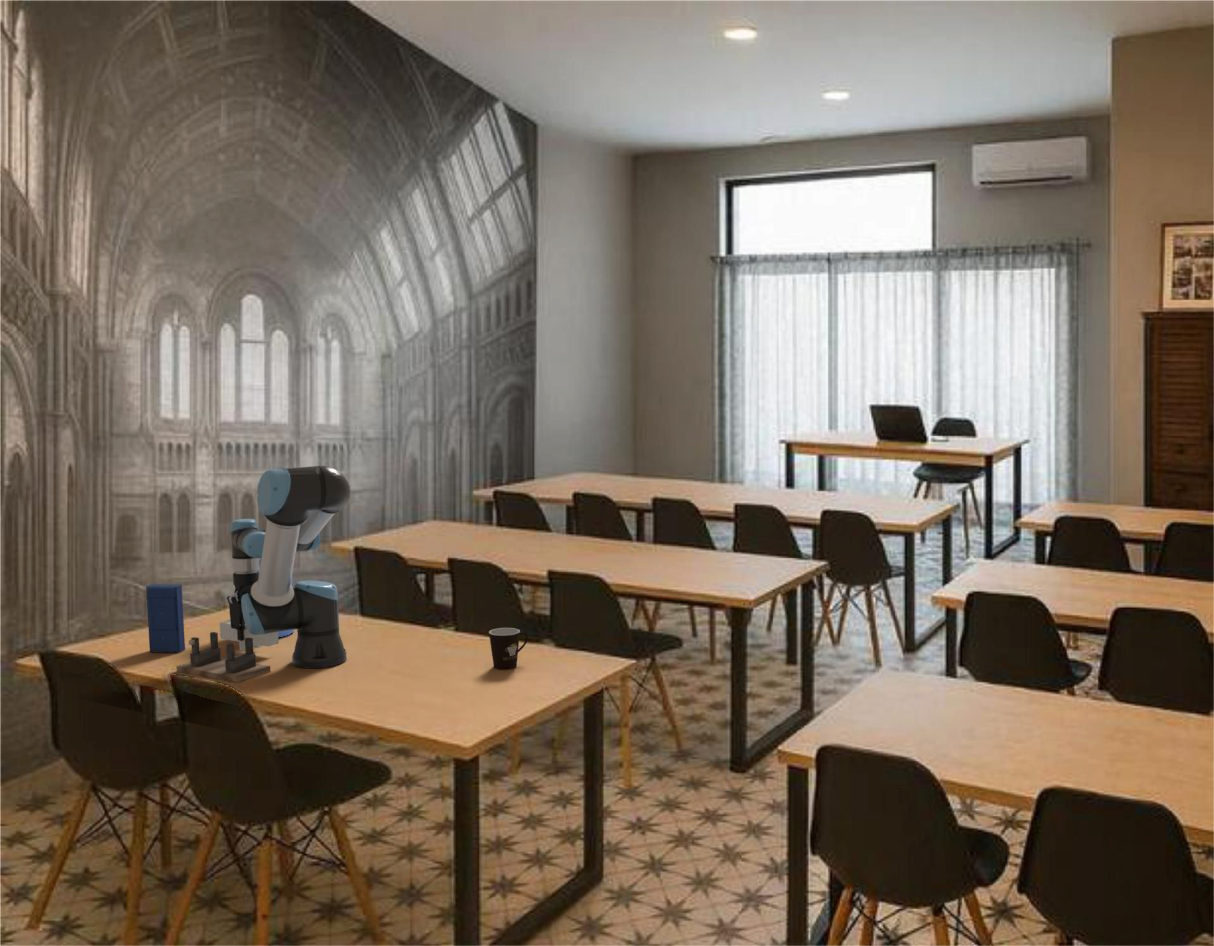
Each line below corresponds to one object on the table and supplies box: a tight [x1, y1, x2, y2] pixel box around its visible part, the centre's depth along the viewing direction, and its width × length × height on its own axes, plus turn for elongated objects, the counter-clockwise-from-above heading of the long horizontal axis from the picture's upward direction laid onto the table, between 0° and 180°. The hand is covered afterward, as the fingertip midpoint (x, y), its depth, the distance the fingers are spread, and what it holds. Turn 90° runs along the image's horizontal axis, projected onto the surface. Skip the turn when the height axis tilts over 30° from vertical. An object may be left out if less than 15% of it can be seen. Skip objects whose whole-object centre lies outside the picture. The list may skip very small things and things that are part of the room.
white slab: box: [219, 619, 280, 647], centre depth 337 cm, size 20×4×5 cm, turn 60°
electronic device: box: [145, 583, 186, 653], centre depth 340 cm, size 10×5×20 cm, turn 84°
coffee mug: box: [488, 627, 529, 671], centre depth 318 cm, size 12×9×10 cm
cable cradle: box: [176, 631, 271, 683], centre depth 317 cm, size 24×12×10 cm, turn 60°
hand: (249, 648), depth 337 cm, fingers closed on white slab, 4 cm apart
